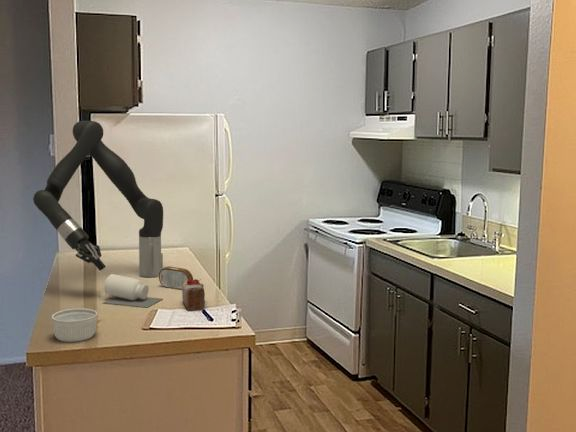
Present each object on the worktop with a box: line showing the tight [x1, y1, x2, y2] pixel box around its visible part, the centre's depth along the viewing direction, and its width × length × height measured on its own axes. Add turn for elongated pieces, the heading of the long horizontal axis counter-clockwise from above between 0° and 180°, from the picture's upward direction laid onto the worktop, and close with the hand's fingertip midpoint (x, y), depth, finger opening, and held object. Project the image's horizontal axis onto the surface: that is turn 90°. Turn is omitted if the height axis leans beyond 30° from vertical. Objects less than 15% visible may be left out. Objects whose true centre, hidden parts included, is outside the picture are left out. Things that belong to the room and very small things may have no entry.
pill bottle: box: [103, 273, 150, 300], centre depth 233 cm, size 8×8×15 cm
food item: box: [181, 278, 206, 312], centre depth 227 cm, size 14×8×10 cm, turn 17°
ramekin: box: [51, 307, 98, 343], centre depth 192 cm, size 13×13×7 cm
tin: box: [158, 266, 194, 291], centre depth 251 cm, size 15×3×8 cm, turn 65°
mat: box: [102, 296, 163, 309], centre depth 232 cm, size 18×12×1 cm, turn 75°
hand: (102, 268), depth 233 cm, fingers closed
